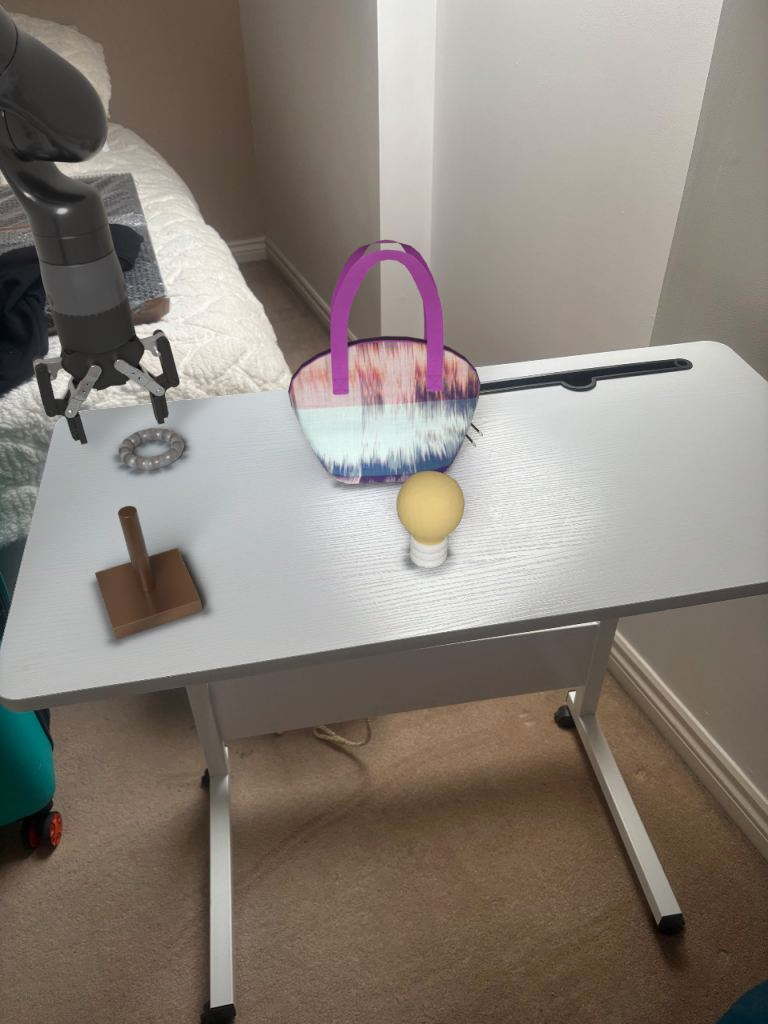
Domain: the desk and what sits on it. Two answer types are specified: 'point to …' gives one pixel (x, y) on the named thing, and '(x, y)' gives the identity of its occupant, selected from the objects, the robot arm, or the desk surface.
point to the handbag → (385, 388)
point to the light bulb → (430, 515)
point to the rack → (146, 584)
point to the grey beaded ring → (154, 461)
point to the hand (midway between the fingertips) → (121, 430)
